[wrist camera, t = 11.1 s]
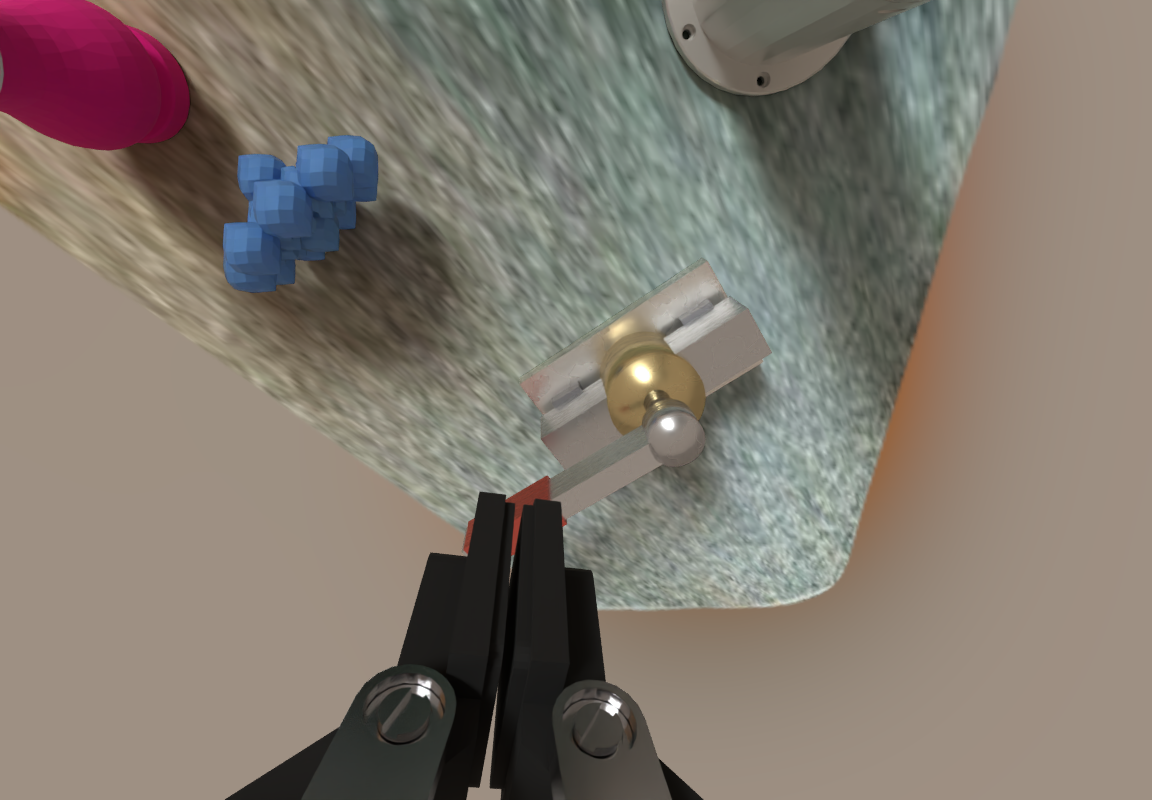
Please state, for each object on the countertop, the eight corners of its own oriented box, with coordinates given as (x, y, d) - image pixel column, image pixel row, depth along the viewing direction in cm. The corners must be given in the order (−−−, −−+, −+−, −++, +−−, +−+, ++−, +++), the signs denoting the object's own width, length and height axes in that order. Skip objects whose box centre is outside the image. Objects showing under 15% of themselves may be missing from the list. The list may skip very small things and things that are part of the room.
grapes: (345, 88, 34) (254, 52, 23) (426, 176, 37) (378, 181, 26) (229, 219, 37) (97, 242, 26) (312, 294, 39) (223, 345, 28)
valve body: (701, 257, 40) (750, 285, 31) (756, 355, 43) (814, 406, 34) (520, 377, 42) (515, 435, 33) (584, 461, 46) (595, 534, 37)
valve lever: (678, 387, 33) (690, 407, 30) (702, 428, 34) (716, 450, 31) (458, 517, 35) (452, 545, 33) (488, 551, 36) (485, 580, 34)
